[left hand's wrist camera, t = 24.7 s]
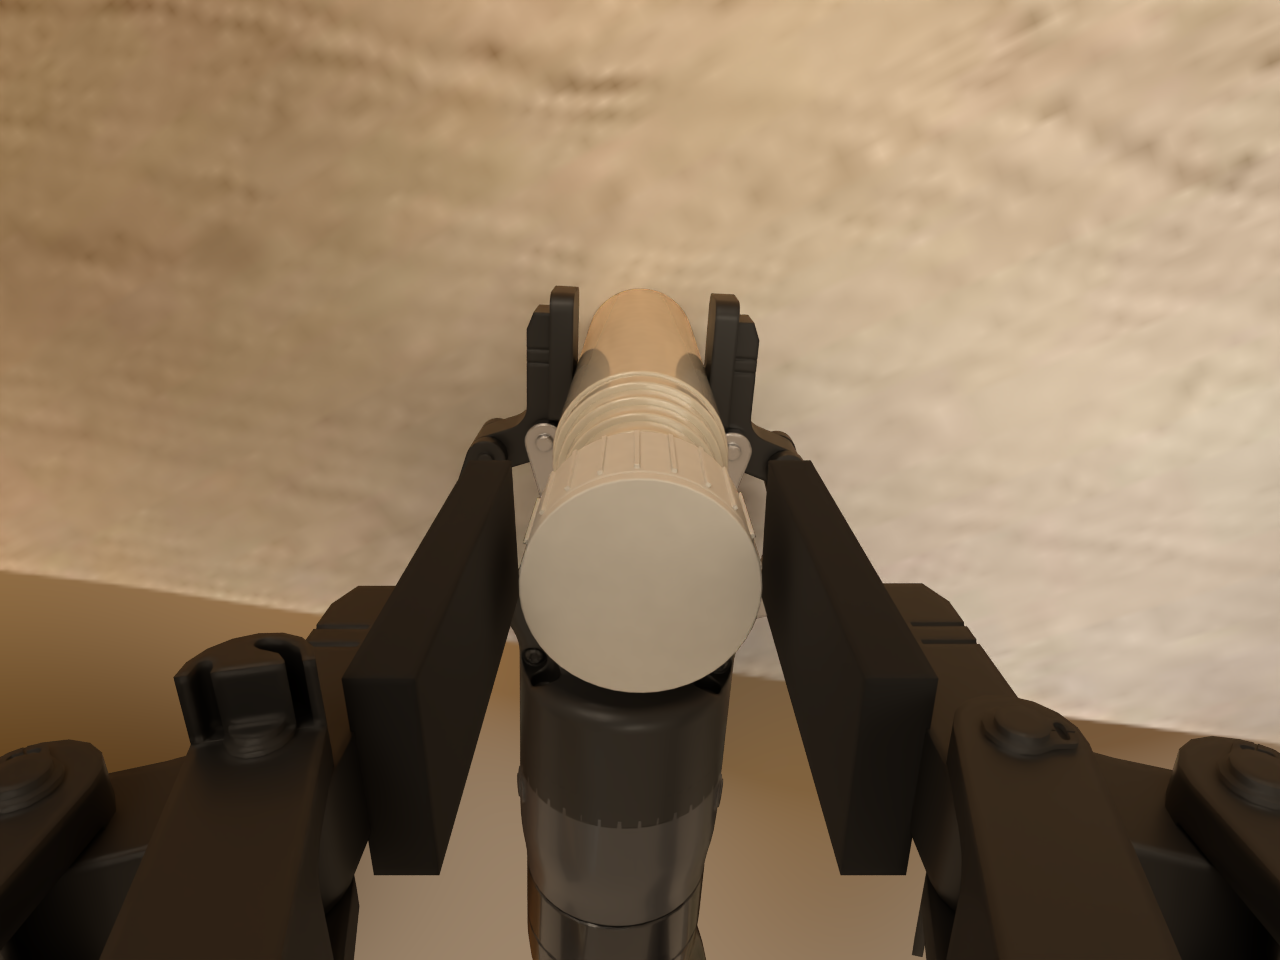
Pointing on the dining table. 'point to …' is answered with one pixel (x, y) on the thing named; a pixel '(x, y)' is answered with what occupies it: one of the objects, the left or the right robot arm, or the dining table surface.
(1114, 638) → the dining table surface
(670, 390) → the bottle
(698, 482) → the cap
